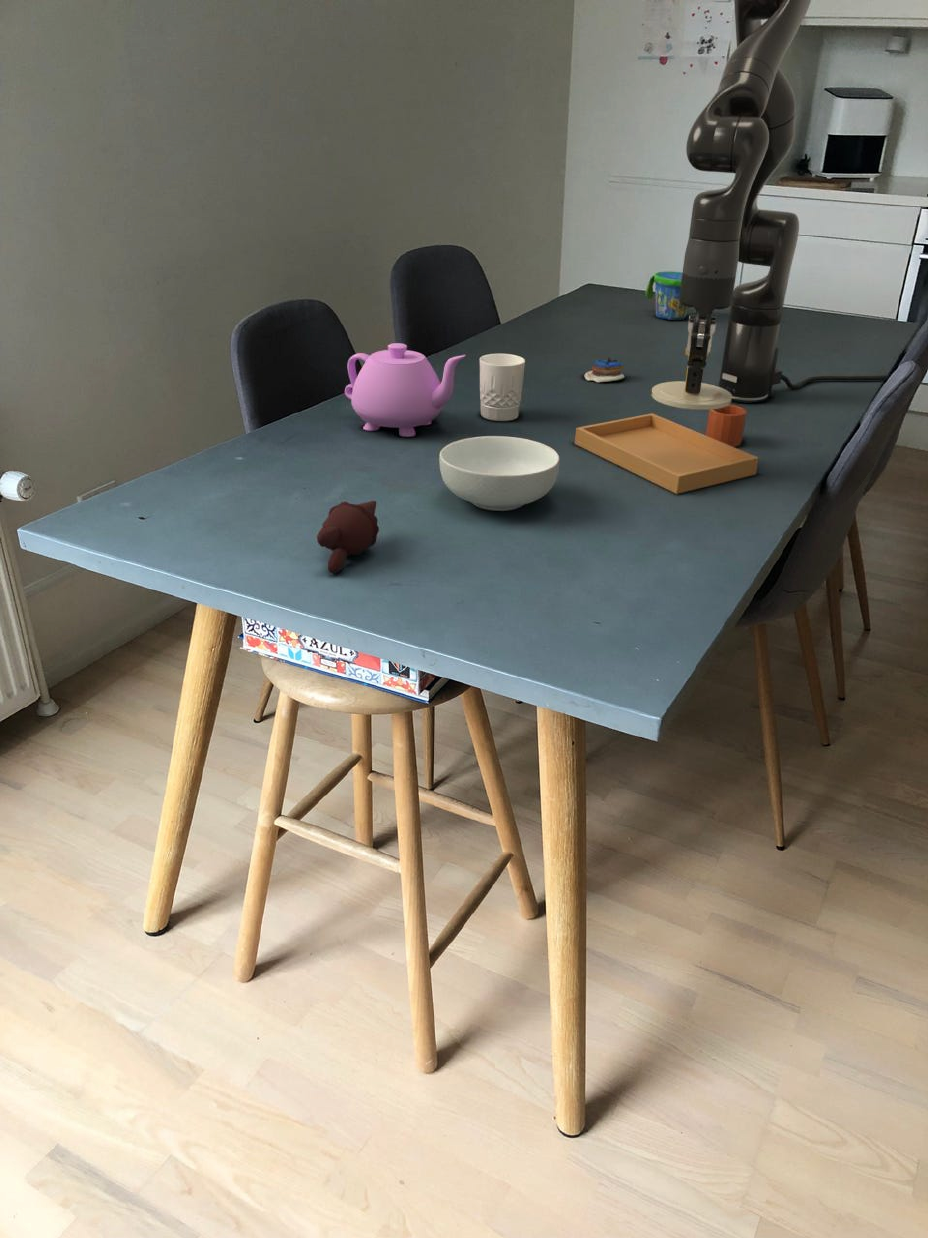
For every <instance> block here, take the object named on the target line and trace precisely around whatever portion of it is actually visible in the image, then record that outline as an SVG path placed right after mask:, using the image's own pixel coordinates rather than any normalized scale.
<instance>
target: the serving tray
mask: <svg viewBox="0 0 928 1238" xmlns="http://www.w3.org/2000/svg"><path fill="white" fill-rule="evenodd" d="M574 445H576V446H578V447H580V448H582V449H584V450H585V451H588V452H590V453H592V454H593V455H596V456H598V457H600V458H602V459H605V460H606V461H609V462H610V463H613V464H615V465H616V466H619V467H621V468H623V469H625V470H627V471H628V472H631V473H632V474H635V475H637V476H639V477H641V478H643V479H645V480H647V481H649V482H651V483H653V484H655V485H656V486H657V485H658V486H659V487H662V488H664V489H665V490H667V491H670V492H671V493H674V494H676V495H678V494H682V493H686V492H691V491H695V490H698V489H702V488H706V487H711V486H715V485H718V484H723V483H726V482H730V481H735V480H739V479H743V478H747V477H750V476H755V475H757V470H758V464H759V457H758V456H756V455H753V454H751V453H749V452H746V451H744V450H742V449H739V448H737V447H732V446H730V445H727V444H725V443H722V442H720V441H718V440H715V439H713V438H710V437H708V436H706V434H703V433H700V432H698V431H696V430H694V429H691V428H690V427H689V428H688V427H687V426H685V425H682V424H680V423H676V422H674V421H672V420H670V419H667V418H665V417H662V416H660V415H658V414H656V413H653V412H651V413H646V414H642V415H637V416H631V417H625V418H620V419H615V420H609V421H605V422H600V423H594V424H589V425H585V426H584V425H583V426H579V427H576V428H575V437H574Z"/></svg>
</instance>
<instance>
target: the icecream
mask: <svg viewBox="0 0 928 1238" xmlns="http://www.w3.org/2000/svg"><path fill="white" fill-rule="evenodd" d="M376 509H377V501H376V500H370V501H369V500H368V501H365V502H361V503H358V504H356V503H350V502H348V501H341V502H339V504H337V505H334V506H331V508H330V509H329V510H328V515H327V517H326V519H325V520H324V521H323V522H322V525H321V528H320V530H319V531H318V533H317V535H316V540H317V543H318V545H319V546H320V547H322V548H325V549H328V550H331V551H332V553H331V554H330V557H329V559H328V562H327V570H328V572H329V573H330V574H337V573H338V572H339V571H340V570H342V568H343V567H345V564H346V562H347V559H348V558H347V556H357V555H358V556H359V555H360V554H362V553H363V552H365V551H366V550H368V548H371V547H373V546H375V544H376V543H377V537H378V533H379V531H380V528H379V526H378V517H377V516H376V515H375V513H376Z"/></svg>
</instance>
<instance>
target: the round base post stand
mask: <svg viewBox="0 0 928 1238" xmlns="http://www.w3.org/2000/svg"><path fill="white" fill-rule="evenodd" d="M684 354H685V355H686V356H687V362H688V361H689V357H688V356H689V354H690V353H689V352H688V351H687V347H685V349H684ZM710 354H711V351H710V352H709V353H708V354H707V356H706V358H707V357H709V356H710ZM692 358H693V359H702V358H703V357H702V356H695V355H694V356H693V357H692ZM687 374H688V365H687V364H686V372H685V379H684V380H683V381H682V380H681V381H677V380H675V381H666V382H661V383H657V384H656V385H654V386H653V387H652V388H651V398H652V399H653V400H655V401H656V402H658V403H659V404H663V405H665V406H668V407H673V408H677V409H684V410H693V411H694V410H696V411H709V410H712V409H719V408H723V407H726V406H728V405H731V404H732V402H733V401H732V395H731V393H730V392H729V391H727V390H725V389H723V388H720V387H719V386H717V385H715V384H709V383H705V382H701V389H700V392H699V393H698V394H693V393H687V392H686V391H685V388H686V381H687Z"/></svg>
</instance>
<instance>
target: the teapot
mask: <svg viewBox="0 0 928 1238" xmlns="http://www.w3.org/2000/svg"><path fill="white" fill-rule="evenodd" d="M407 348H408V346H407V344H405V343H402V342H401V343H400V342H392V343H389V344H388V345H387V349H383V350H379V351H376V352H373V353H371V354H370V355H369V354H367V353H364V352H358V353H355V354H353V355H352V356H350V357H349V359H348V361H347V365H346V366H347V367H346V368H347V375H348V378H349V381H350V383H349V384H347V385H346V386H345V389H344V394H345V395H344V396H345V397H346V398H347V399H349V400H350V401H351V402H350V404H351V407H352V409H353V410H354V412H355V413H356V414H357V416H358V417H359V418H360V419H361V420H362V421H363V422H366V423H365V424H364V425H363V430H364V431H371V432H374V431H377V430H380V429H381V427H384V428H393V429H396V428H397V429H398V435H399V436H401V437H407V438H408V437H409V438H410V437H415V436H416V431H415V428H414V427H420V426H428V425H431V424H432V423H433V422H432V421H434V419H435V418H437V416H439V414H440V413H441V412H442V410H443V408H444V405H445V404H447V403H448V401H449V400H450V399H451V397H452V395H453V391H454V385H455V370H456V368H457V367H456V366H457V365H458V363H459V362H460V361H461V360H462V359H463V358H465V357H466V354H462V355H456V356H453V357H450V358H448V359H447V361H446V362H445V364H444V367H443V374H442V380H441V382H440V378H439V377H438V375H437V372H436V371H435V370H434V368H433V366H432V365H431V363H430V361H429V360H428V359H427V357H426V356H425V355H424V354H422V353H421V352H418V351H414V350H408V349H407ZM357 360H361V361H364V364H363V365H362V367H361V369H360V371H359V372H358V373H357V370H356V361H357Z"/></svg>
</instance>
